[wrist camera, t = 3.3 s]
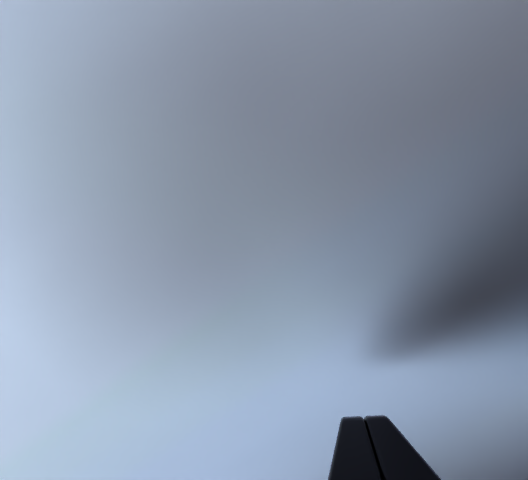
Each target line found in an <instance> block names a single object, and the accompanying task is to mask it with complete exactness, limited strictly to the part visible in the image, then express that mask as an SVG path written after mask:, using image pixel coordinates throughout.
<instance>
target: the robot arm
mask: <svg viewBox="0 0 528 480" xmlns="http://www.w3.org/2000/svg"><path fill="white" fill-rule="evenodd" d="M328 480H441V479H440V478H439V477H438V475H437V474H436V473H435V472H434V471H433V470H432V468H431V467H430V466H429V465H428V464H427V463H426V461H425V460H424V459H423V458H422V457H421V456H420V454H419V453H418V452H417V451H416V450H415V449H414V447H413V446H412V445H411V444H410V443H409V442H408V440H407V439H406V438H405V437H404V436H403V435H402V434H401V432H400V431H399V430H398V429H397V428H396V427H395V425H394V424H393V423H392V422H391V421H390V420H389V418H387V417H386V416H383V415H379V416H366V417H365V418H364V419H363V418H362V417H360V416H357V417H343V418H342V419H341V422H340V426H339V431H338V436H337V440H336V445H335V450H334V454H333V459H332V464H331V469H330V473H329V478H328Z"/></svg>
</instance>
